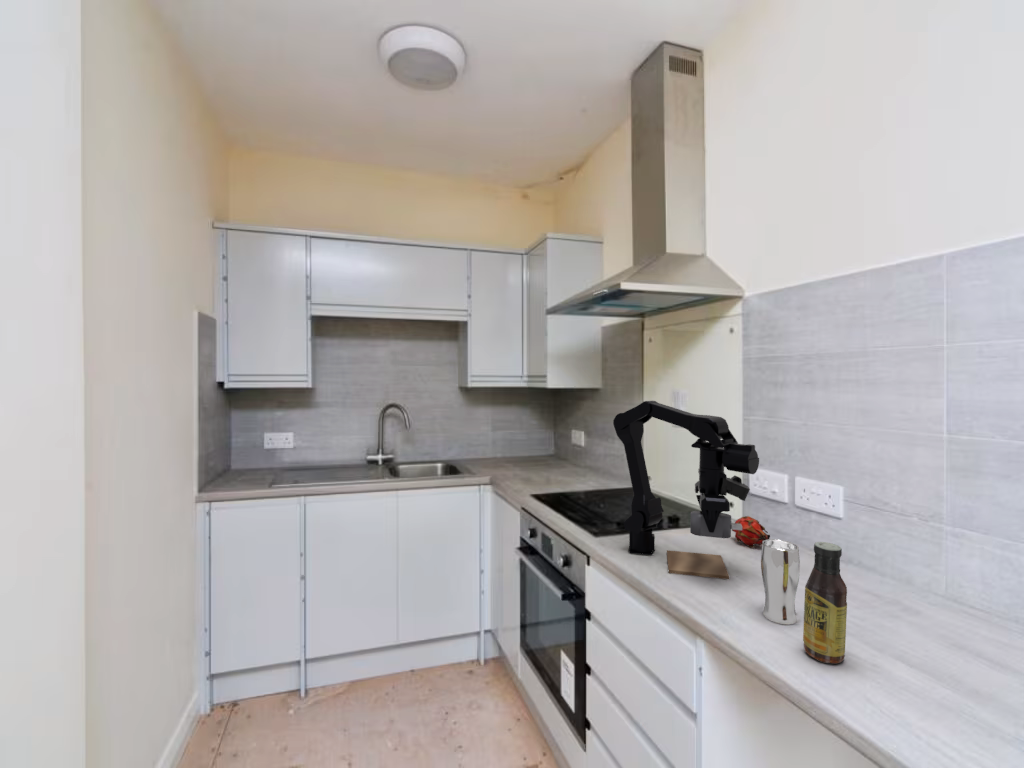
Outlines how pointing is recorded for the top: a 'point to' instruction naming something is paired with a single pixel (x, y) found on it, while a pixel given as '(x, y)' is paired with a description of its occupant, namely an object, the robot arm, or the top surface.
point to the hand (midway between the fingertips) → (710, 529)
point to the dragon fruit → (750, 531)
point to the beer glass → (780, 580)
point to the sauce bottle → (825, 606)
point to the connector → (720, 530)
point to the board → (696, 564)
